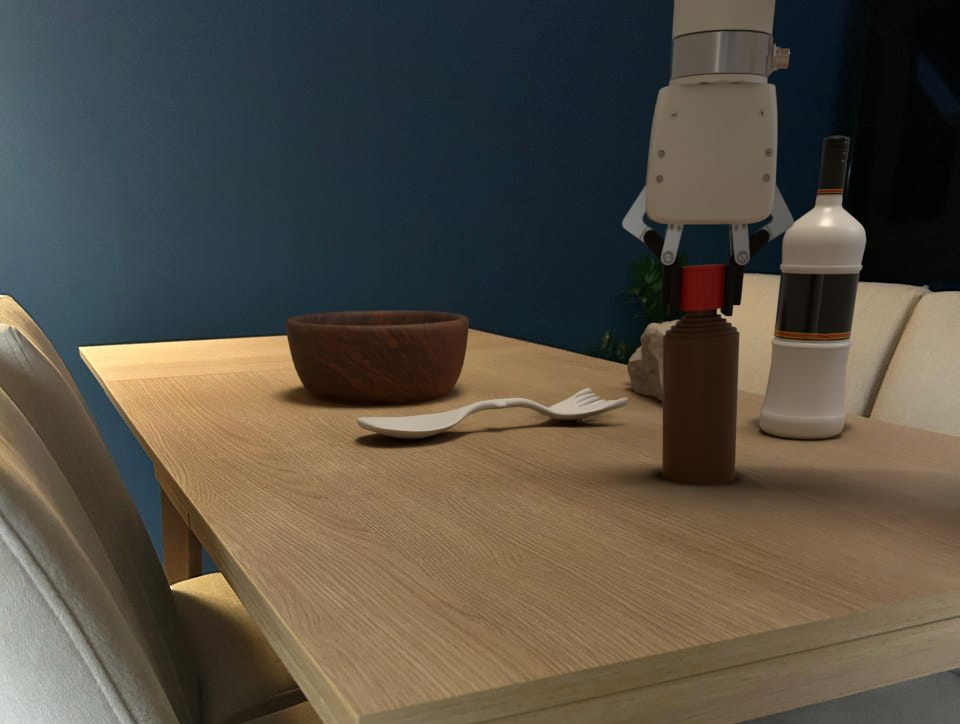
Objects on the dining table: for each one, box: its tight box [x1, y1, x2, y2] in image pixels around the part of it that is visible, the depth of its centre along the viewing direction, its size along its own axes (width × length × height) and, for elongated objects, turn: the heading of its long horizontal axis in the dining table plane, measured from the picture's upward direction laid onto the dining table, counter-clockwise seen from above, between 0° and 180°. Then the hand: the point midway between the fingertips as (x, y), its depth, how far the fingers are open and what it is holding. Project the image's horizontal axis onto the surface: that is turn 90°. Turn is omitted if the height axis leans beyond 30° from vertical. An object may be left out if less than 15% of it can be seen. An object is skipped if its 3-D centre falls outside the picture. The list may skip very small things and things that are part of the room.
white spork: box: [356, 387, 629, 440], centre depth 111 cm, size 9×32×3 cm, turn 116°
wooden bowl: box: [284, 309, 470, 405], centre depth 135 cm, size 25×25×10 cm
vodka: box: [758, 135, 867, 440], centre depth 104 cm, size 9×9×30 cm
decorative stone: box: [626, 319, 680, 402], centre depth 130 cm, size 20×8×10 cm, turn 12°
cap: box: [678, 263, 727, 312], centre depth 82 cm, size 4×4×3 cm
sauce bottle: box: [662, 309, 740, 485], centre depth 85 cm, size 6×6×18 cm
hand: (699, 312), depth 82 cm, fingers closed on cap, 3 cm apart
